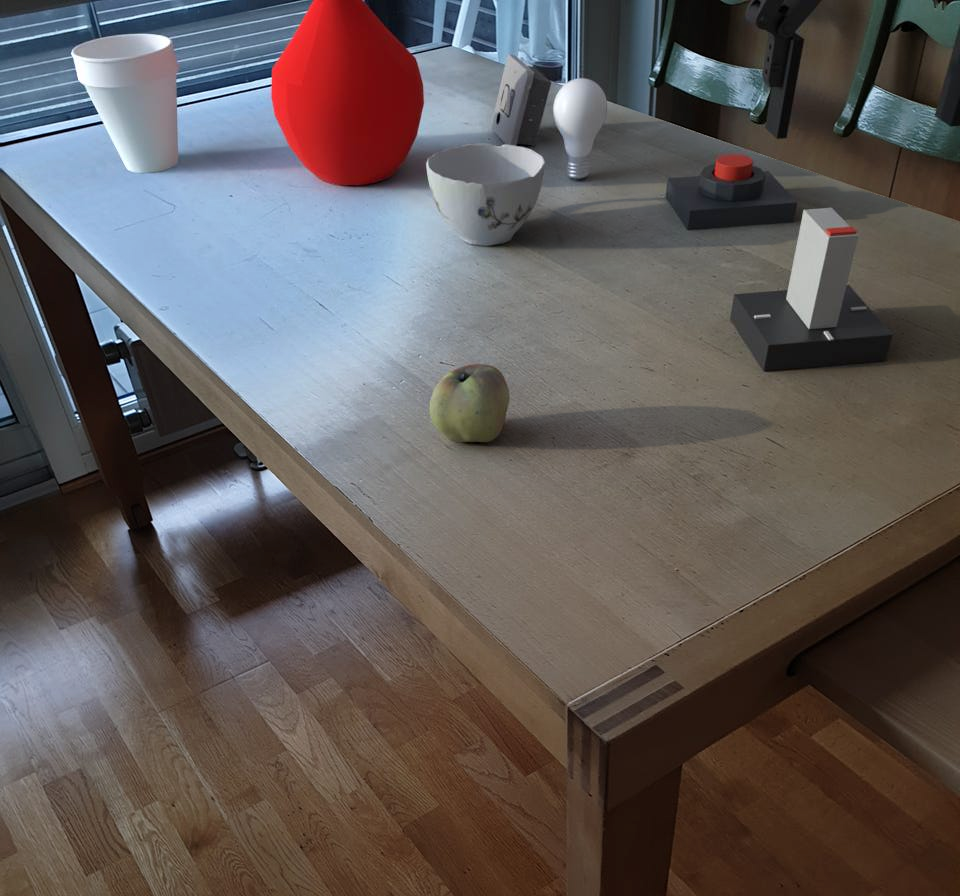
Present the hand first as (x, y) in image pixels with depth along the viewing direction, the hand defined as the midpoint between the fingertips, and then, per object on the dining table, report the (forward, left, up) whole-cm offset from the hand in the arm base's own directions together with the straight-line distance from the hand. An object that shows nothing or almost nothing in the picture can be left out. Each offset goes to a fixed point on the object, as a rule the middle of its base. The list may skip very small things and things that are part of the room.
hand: (861, 127), depth 74 cm
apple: (+31, +10, -18) cm, 37 cm away
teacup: (+26, -31, -18) cm, 45 cm away
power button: (-2, -32, -15) cm, 36 cm away
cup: (+67, -62, -18) cm, 94 cm away
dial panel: (0, -1, -18) cm, 18 cm away
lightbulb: (+13, -45, -18) cm, 51 cm away
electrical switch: (+18, -62, -18) cm, 68 cm away
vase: (+40, -53, -18) cm, 69 cm away
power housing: (-2, -32, -18) cm, 37 cm away
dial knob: (0, -1, -16) cm, 16 cm away
